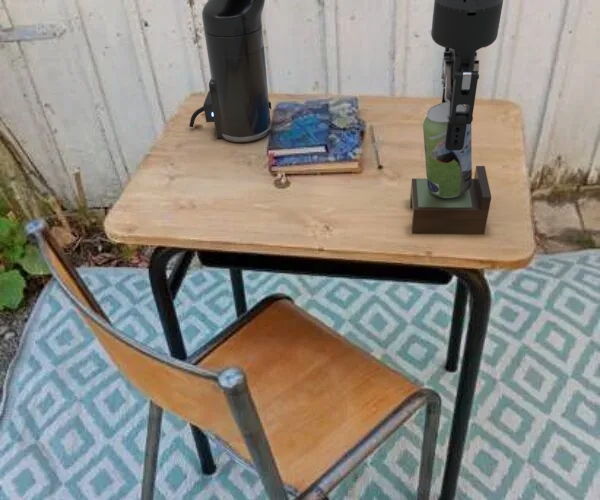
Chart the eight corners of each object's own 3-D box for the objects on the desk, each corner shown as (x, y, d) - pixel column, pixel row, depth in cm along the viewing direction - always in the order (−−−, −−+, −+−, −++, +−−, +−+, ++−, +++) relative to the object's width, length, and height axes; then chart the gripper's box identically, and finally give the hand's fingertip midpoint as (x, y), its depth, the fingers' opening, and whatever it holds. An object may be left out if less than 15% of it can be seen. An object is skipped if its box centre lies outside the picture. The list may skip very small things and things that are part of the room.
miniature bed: (411, 234, 91) (415, 196, 86) (409, 202, 96) (413, 165, 92) (484, 234, 90) (491, 197, 86) (478, 202, 95) (484, 165, 91)
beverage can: (477, 197, 89) (492, 113, 80) (428, 208, 88) (437, 124, 79) (457, 175, 93) (469, 92, 84) (410, 185, 92) (417, 102, 83)
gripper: (431, -25, 77) (419, 107, 89) (439, 18, 67) (424, 160, 79) (495, -27, 76) (474, 107, 88) (512, 17, 67) (486, 160, 78)
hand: (451, 132), depth 84 cm, fingers open, 8 cm apart
